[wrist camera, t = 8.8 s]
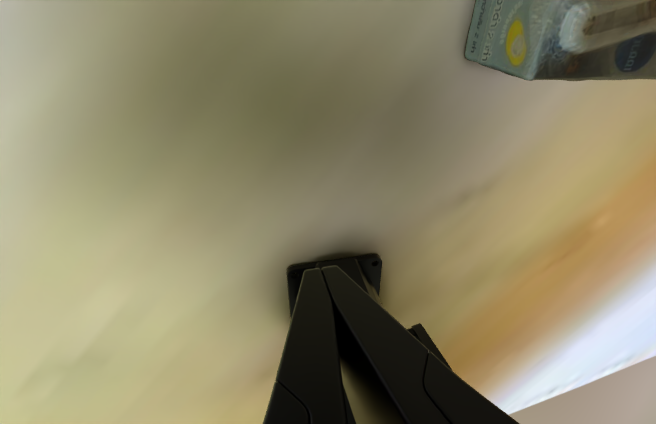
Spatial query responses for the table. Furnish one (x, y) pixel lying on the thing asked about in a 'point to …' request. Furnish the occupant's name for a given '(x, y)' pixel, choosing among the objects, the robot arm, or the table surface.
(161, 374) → the table surface
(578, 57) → the printed cardboard box
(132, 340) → the table surface
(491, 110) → the table surface
